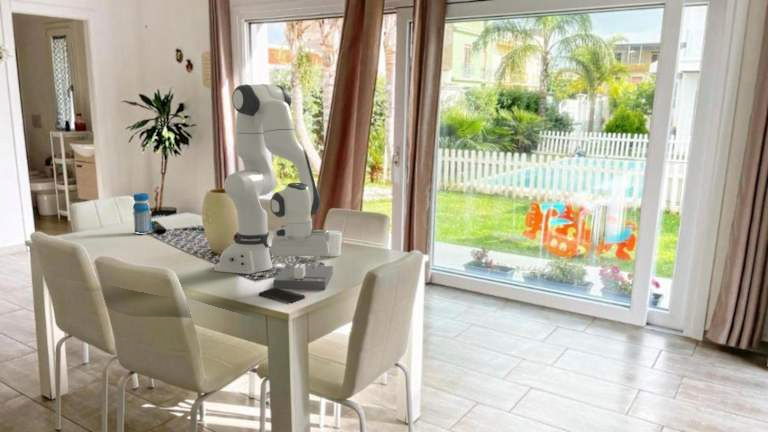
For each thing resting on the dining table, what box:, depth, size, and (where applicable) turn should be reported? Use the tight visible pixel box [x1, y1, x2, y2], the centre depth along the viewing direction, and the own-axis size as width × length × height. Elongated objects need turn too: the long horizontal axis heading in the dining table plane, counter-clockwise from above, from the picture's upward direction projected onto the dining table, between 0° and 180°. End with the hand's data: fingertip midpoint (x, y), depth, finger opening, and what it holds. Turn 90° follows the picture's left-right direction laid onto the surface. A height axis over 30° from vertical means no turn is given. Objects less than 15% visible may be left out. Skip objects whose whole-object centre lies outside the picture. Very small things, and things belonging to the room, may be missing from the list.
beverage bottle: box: [132, 192, 153, 233], centre depth 286 cm, size 8×8×20 cm
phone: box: [258, 287, 306, 304], centre depth 192 cm, size 8×1×15 cm
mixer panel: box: [273, 264, 334, 291], centre depth 210 cm, size 18×20×3 cm
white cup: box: [326, 230, 343, 258], centre depth 248 cm, size 8×8×10 cm
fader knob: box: [294, 263, 306, 279], centre depth 204 cm, size 3×5×4 cm, turn 177°
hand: (301, 268), depth 203 cm, fingers open, 8 cm apart
